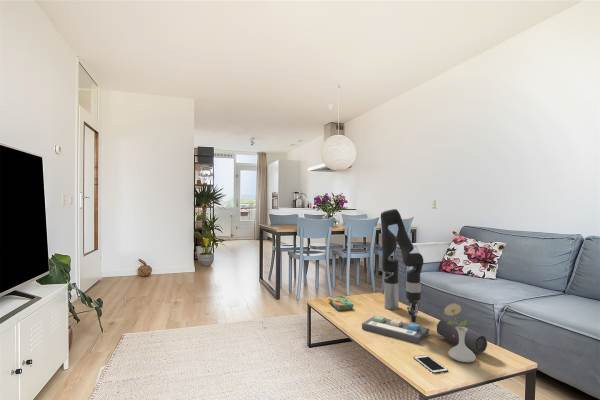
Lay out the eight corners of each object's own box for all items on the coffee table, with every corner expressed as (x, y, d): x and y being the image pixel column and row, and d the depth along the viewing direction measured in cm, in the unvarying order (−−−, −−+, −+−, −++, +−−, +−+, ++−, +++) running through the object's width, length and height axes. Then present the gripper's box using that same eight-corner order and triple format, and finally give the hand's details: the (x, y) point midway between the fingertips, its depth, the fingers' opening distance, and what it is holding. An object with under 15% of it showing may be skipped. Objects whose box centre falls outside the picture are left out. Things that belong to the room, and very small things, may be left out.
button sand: (393, 325, 185) (393, 318, 185) (402, 327, 182) (402, 320, 182) (389, 327, 181) (389, 321, 181) (398, 329, 178) (398, 323, 178)
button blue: (410, 329, 179) (410, 322, 179) (420, 331, 175) (420, 325, 176) (407, 332, 175) (407, 325, 175) (416, 334, 172) (416, 327, 172)
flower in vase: (473, 355, 151) (473, 301, 151) (478, 366, 140) (477, 308, 141) (443, 351, 155) (442, 298, 156) (445, 362, 145) (445, 306, 145)
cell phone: (427, 356, 151) (427, 354, 151) (449, 372, 136) (449, 370, 136) (412, 358, 149) (412, 356, 149) (433, 374, 135) (433, 372, 135)
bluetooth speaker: (435, 339, 169) (435, 319, 170) (448, 336, 173) (448, 317, 173) (474, 357, 149) (474, 336, 149) (488, 354, 152) (487, 332, 152)
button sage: (377, 321, 191) (377, 315, 191) (385, 323, 188) (385, 317, 188) (373, 323, 187) (373, 317, 187) (381, 325, 184) (381, 319, 184)
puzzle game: (337, 304, 215) (327, 296, 234) (337, 311, 214) (327, 302, 234) (353, 302, 217) (342, 294, 237) (353, 309, 217) (342, 301, 237)
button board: (374, 320, 196) (374, 314, 196) (428, 333, 176) (428, 327, 176) (361, 328, 184) (361, 322, 184) (418, 343, 164) (418, 336, 164)
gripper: (410, 286, 183) (411, 317, 183) (402, 291, 173) (402, 324, 172) (424, 288, 178) (424, 320, 178) (416, 294, 168) (416, 327, 168)
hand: (413, 322), depth 175 cm, fingers closed
